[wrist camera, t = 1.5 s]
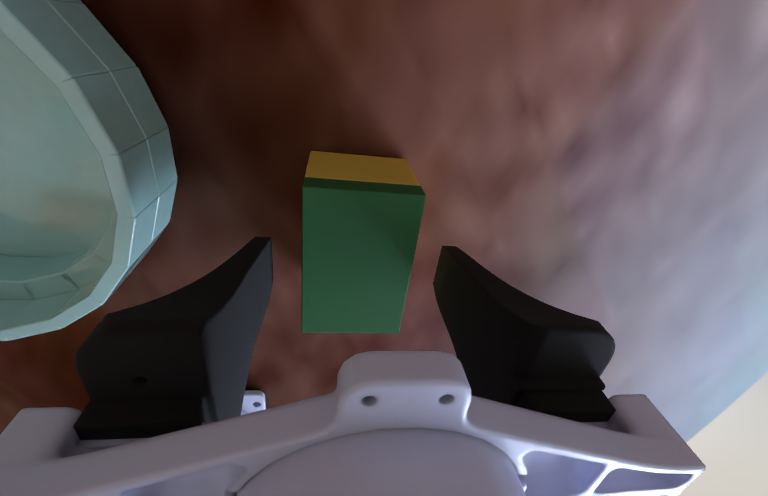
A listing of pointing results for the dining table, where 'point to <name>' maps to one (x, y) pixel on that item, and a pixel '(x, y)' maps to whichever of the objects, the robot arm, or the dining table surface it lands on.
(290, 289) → the dining table surface
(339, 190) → the sponge
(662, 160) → the dining table surface
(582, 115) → the dining table surface
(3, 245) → the bowl
